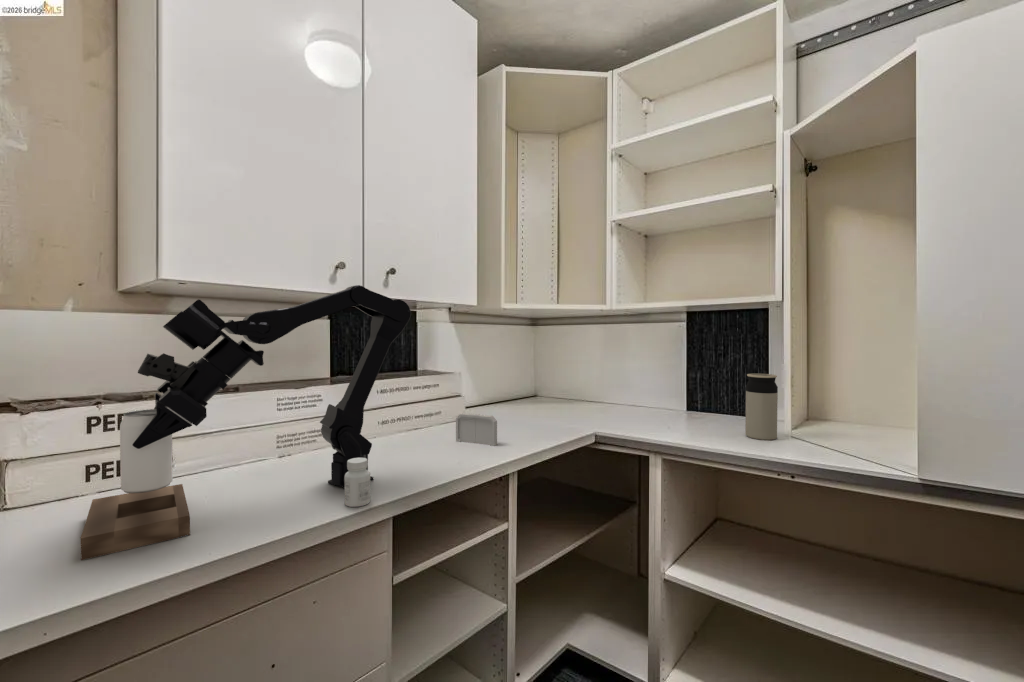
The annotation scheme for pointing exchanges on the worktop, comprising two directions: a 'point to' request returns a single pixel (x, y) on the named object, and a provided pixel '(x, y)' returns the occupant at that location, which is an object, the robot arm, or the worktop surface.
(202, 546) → the worktop surface
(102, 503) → the socket block
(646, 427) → the worktop surface
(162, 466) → the can
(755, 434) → the travel mug
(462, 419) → the gray double door
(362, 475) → the pill bottle
